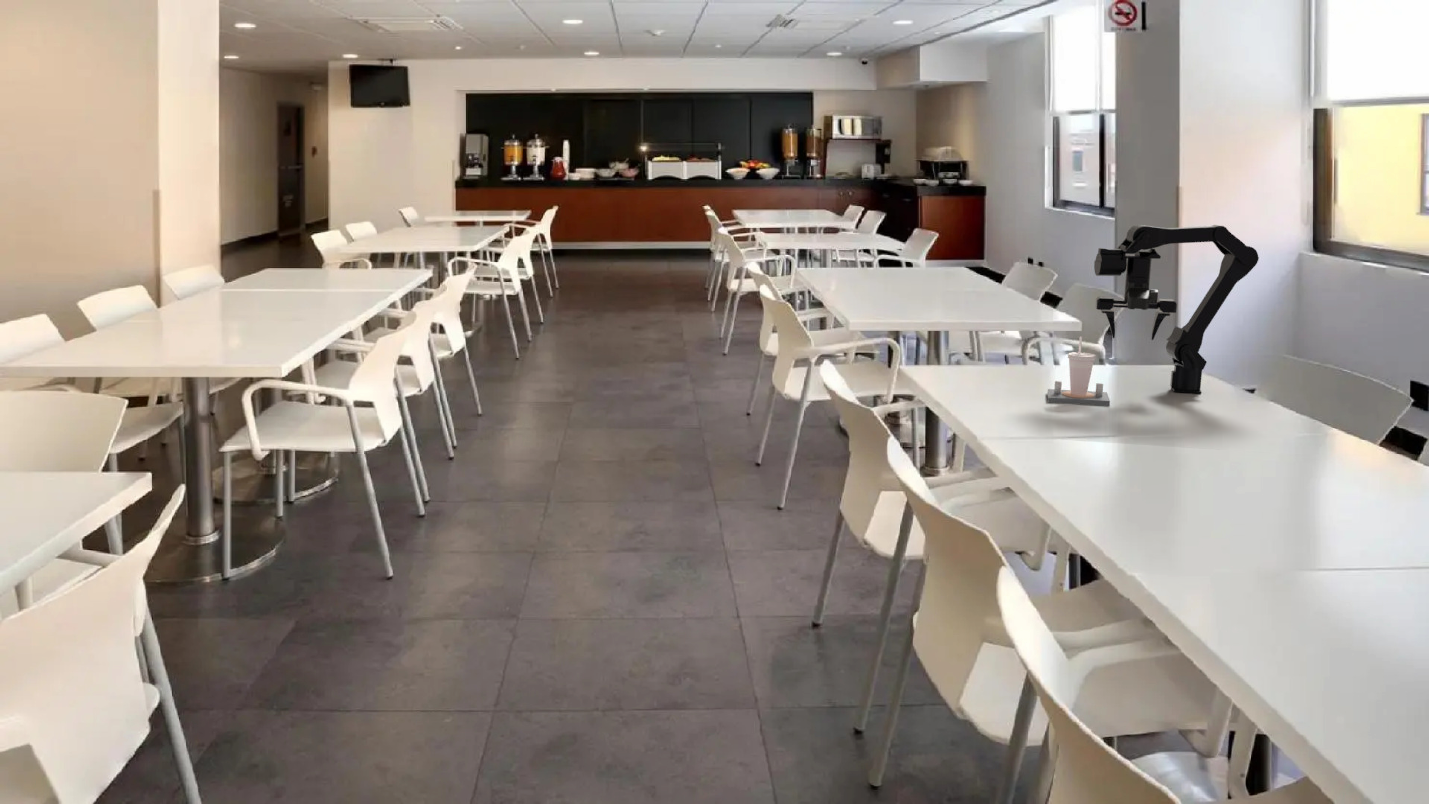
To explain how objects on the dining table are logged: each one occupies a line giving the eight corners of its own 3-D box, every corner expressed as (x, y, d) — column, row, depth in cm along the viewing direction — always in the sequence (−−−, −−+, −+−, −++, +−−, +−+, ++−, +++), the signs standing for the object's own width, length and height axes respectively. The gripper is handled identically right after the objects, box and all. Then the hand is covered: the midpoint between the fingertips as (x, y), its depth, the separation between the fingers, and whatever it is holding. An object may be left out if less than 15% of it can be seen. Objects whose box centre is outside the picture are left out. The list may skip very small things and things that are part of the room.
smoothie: (1062, 390, 298) (1066, 334, 295) (1088, 391, 298) (1093, 334, 295) (1068, 396, 292) (1073, 338, 289) (1095, 396, 291) (1100, 338, 288)
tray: (1106, 397, 298) (1107, 380, 298) (1109, 406, 288) (1110, 388, 287) (1047, 393, 302) (1048, 377, 301) (1048, 402, 291) (1049, 385, 290)
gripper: (1100, 278, 297) (1095, 341, 300) (1181, 281, 292) (1176, 345, 295) (1097, 273, 307) (1093, 335, 310) (1176, 276, 303) (1170, 338, 306)
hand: (1132, 338), depth 305 cm, fingers open, 9 cm apart
